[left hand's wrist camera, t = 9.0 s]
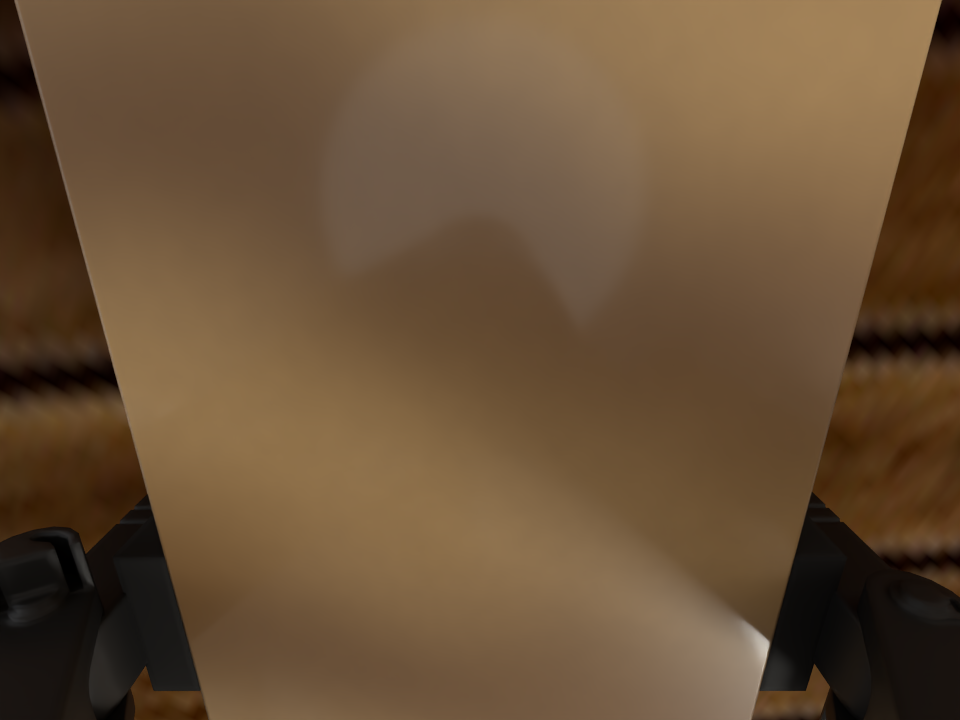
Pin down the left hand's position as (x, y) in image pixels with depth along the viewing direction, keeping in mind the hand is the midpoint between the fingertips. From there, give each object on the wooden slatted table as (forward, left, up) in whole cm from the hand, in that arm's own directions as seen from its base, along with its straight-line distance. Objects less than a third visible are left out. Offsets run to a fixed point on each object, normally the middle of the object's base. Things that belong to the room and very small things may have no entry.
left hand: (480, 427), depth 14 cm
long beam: (+3, +31, -1) cm, 32 cm away
